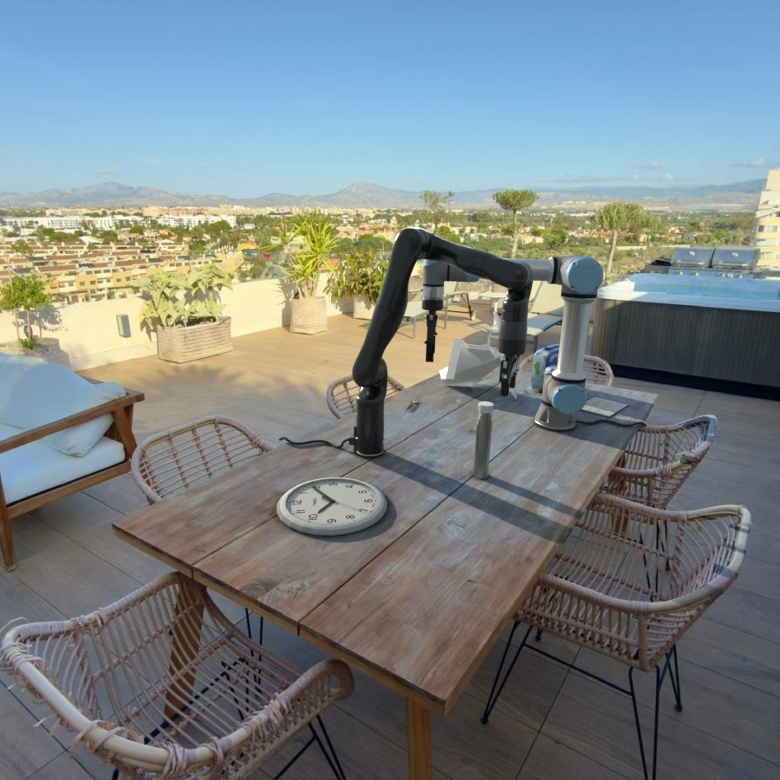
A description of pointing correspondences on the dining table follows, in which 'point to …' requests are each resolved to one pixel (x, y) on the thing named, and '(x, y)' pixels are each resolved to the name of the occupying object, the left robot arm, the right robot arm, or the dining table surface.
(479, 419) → the bottle
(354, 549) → the dining table surface
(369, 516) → the wall clock
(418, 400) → the fork
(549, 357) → the lunch box
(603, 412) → the invitation card
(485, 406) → the cap
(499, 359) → the white plastic object
